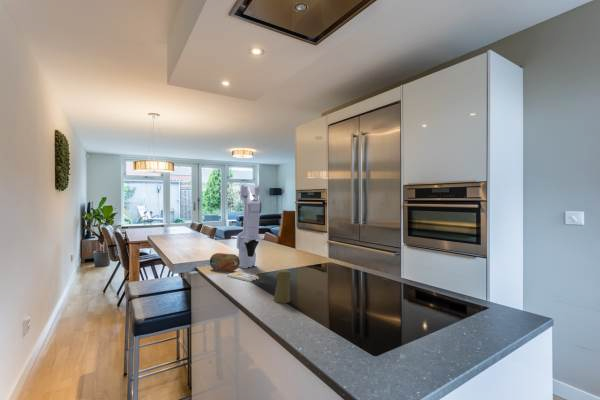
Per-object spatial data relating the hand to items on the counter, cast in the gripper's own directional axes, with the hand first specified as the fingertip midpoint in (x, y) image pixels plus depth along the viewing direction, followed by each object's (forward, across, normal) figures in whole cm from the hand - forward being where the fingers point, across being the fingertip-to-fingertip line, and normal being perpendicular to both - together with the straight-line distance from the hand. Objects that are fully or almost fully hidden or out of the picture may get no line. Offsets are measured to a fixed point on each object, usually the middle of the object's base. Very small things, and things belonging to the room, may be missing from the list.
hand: (250, 256), depth 139 cm
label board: (+10, +3, -2) cm, 10 cm away
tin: (+10, -6, -16) cm, 20 cm away
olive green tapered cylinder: (+9, +25, +24) cm, 36 cm away
